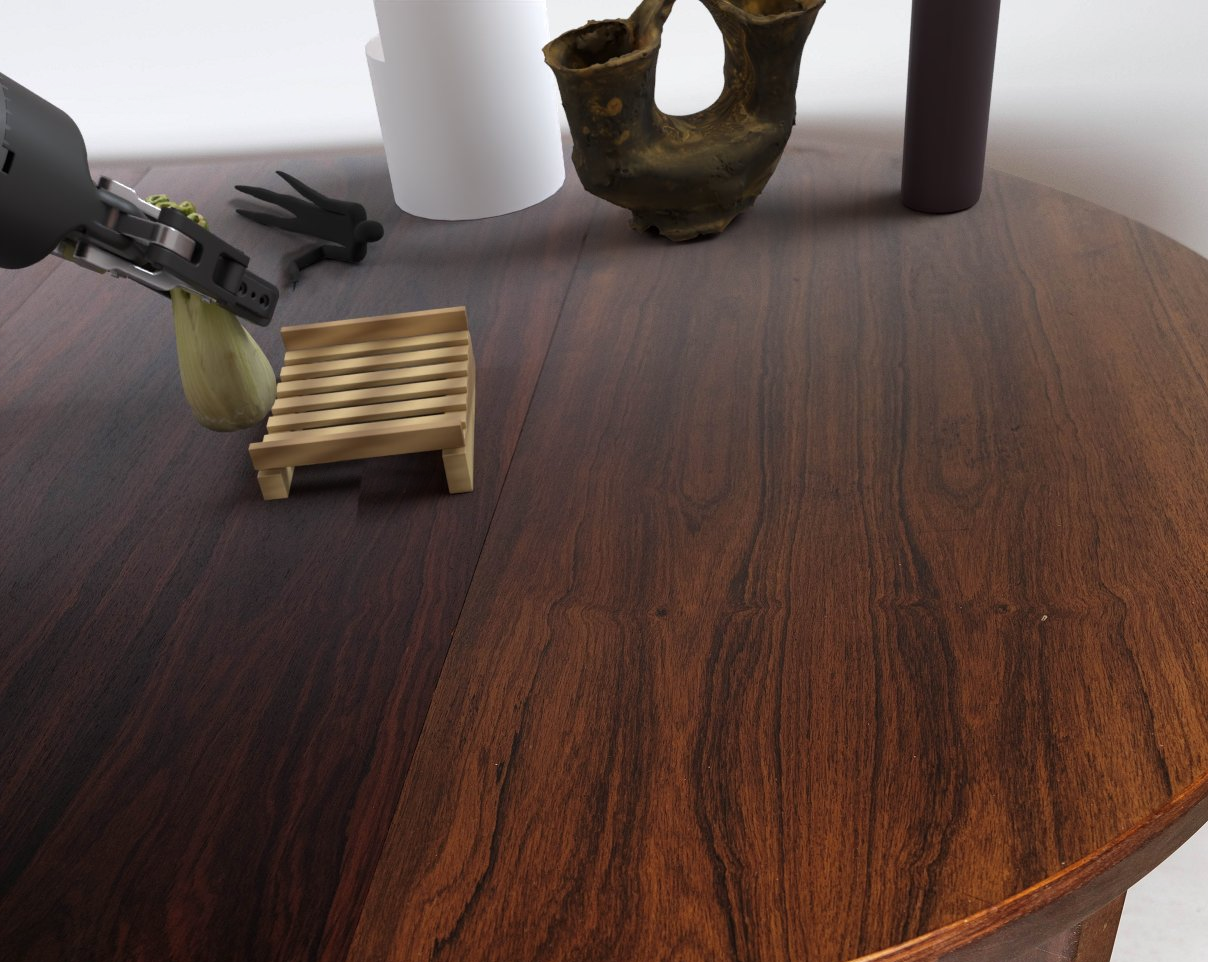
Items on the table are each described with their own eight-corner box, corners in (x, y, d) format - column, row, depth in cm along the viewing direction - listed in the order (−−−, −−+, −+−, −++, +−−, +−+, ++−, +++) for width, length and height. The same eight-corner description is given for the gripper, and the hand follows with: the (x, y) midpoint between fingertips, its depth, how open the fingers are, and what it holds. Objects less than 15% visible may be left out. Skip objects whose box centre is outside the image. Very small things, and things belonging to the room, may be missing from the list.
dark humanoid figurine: (162, 159, 123) (301, 197, 108) (245, 160, 129) (389, 196, 113) (168, 248, 127) (304, 297, 112) (248, 245, 133) (388, 291, 117)
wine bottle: (981, 184, 118) (1021, -216, 98) (979, 215, 113) (1021, -200, 93) (902, 184, 120) (926, -209, 100) (897, 215, 115) (921, -193, 95)
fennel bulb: (196, 401, 74) (129, 189, 66) (282, 386, 75) (226, 174, 67) (194, 451, 70) (123, 231, 62) (286, 435, 70) (227, 215, 62)
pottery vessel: (788, 171, 125) (788, -63, 112) (845, 207, 117) (853, -40, 104) (547, 232, 120) (518, -7, 106) (590, 273, 112) (565, 21, 99)
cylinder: (600, 173, 129) (569, -161, 111) (473, 234, 121) (416, -117, 102) (485, 144, 139) (438, -168, 120) (359, 198, 130) (288, -128, 112)
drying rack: (268, 515, 88) (248, 449, 85) (298, 388, 101) (281, 327, 98) (473, 491, 88) (460, 424, 84) (475, 367, 101) (465, 305, 98)
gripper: (-177, 201, 58) (122, 337, 73) (14, 256, 51) (301, 394, 66) (-126, 38, 58) (165, 209, 72) (74, 72, 51) (350, 252, 66)
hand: (229, 296), depth 69 cm, fingers closed on fennel bulb, 5 cm apart
